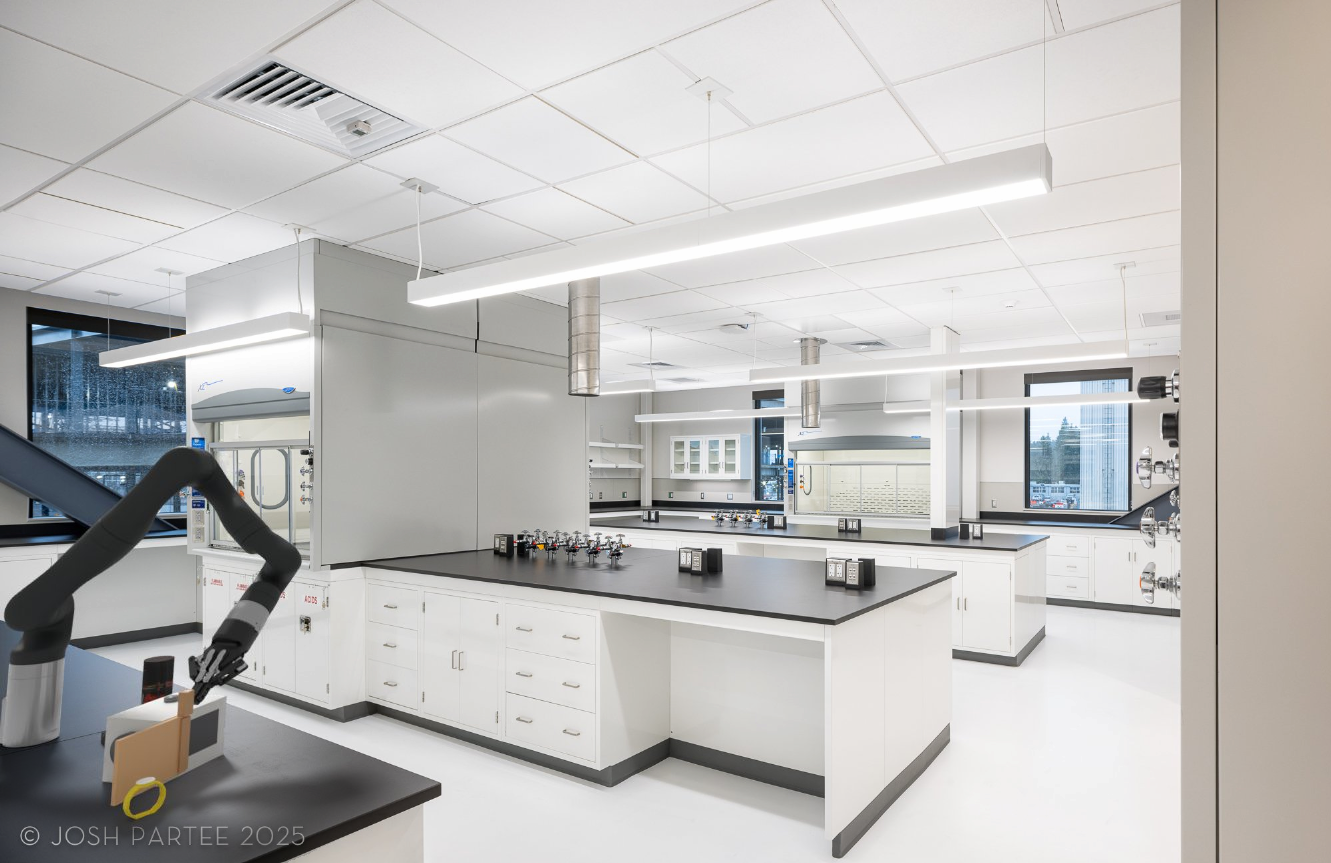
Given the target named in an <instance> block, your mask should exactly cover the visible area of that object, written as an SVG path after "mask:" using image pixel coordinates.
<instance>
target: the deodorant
mask: <svg viewBox="0 0 1331 863" xmlns="http://www.w3.org/2000/svg"><path fill="white" fill-rule="evenodd" d="M175 658H176V657H175V656H174V655H157V656H152V657H147V658H145V659H144V660H143V664H142V665H143V666H142V680H141V681H142V683H141V684H142V685H141V699H140V705H142V704H145V703H148V702H151V701H154V700H156V699H159V698H162V697H165V696H168V695H171V694H173V689H174V674H175V673H174V672H175Z"/></svg>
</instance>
